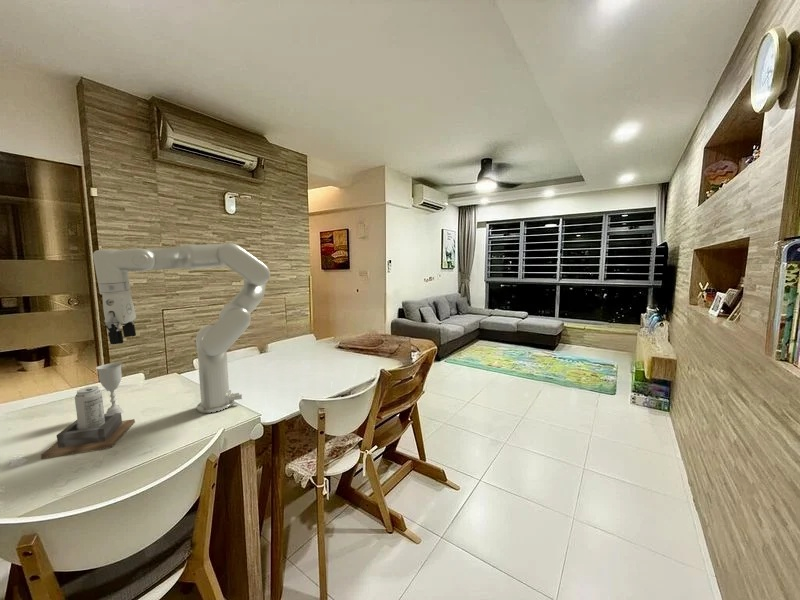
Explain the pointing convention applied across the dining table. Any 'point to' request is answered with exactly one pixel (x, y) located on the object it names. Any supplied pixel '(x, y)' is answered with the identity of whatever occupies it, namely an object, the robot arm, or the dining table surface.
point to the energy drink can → (89, 408)
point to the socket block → (89, 437)
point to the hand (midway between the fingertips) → (123, 339)
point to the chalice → (111, 382)
